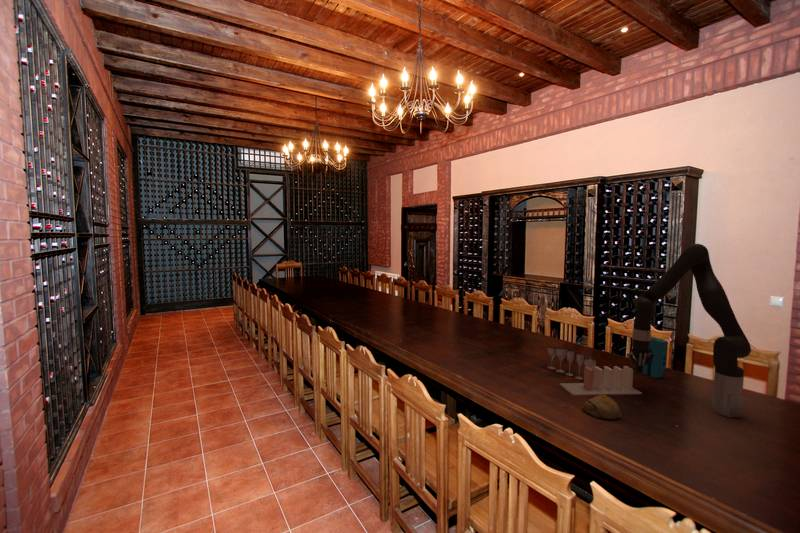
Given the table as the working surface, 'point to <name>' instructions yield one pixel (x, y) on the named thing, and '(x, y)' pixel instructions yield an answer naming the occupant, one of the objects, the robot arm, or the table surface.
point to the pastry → (602, 407)
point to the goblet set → (569, 359)
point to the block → (657, 358)
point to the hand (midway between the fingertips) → (638, 372)
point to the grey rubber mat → (596, 390)
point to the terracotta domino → (588, 378)
